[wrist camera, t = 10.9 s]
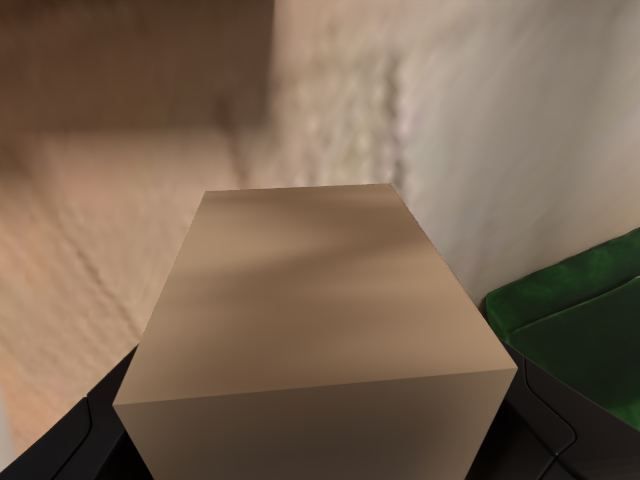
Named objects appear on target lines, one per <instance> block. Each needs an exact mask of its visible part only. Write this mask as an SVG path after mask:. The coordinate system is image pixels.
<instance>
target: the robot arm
mask: <svg viewBox="0 0 640 480" xmlns="http://www.w3.org/2000/svg"><path fill="white" fill-rule="evenodd" d="M496 337H497V338H498V339H499V341H500V342H501V344H502V345H503V347H504V348H505V350H506V351H507V352H508V354H509V355H510V357H511V358H512V360H513V361H514V363H515V364H516V365H517V367H518V370H517V372H516V374H515V376H514V378H513V380H512V382H511V384H510V386H509V388H508V390H507V392H506V394H505V396H504V398H503V400H502V403H501V405H500V407H499V409H498V411H497V413H496V415H495V417H494V419H493V421H492V423H491V425H490V427H489V429H488V431H487V434H486V436H485V438H484V440H483V442H482V444H481V446H480V448H479V450H478V452H477V454H476V456H475V458H474V460H473V462H472V465H471V467H470V469H469V471H468V473H467V475H466V477H465V479H464V480H640V430H638V429H636V428H635V427H633V426H632V425H630V424H628V423H627V422H625V421H623V420H622V419H620V418H619V417H617V416H615V415H614V414H612V413H610V412H609V411H607V410H606V409H604V408H602V407H601V406H599V405H598V404H596V403H594V402H593V401H591V400H590V399H588V398H586V397H585V396H583V395H582V394H580V393H579V392H577V391H575V390H574V389H572V388H571V387H569V386H568V385H566V384H565V383H563V382H562V381H560V380H559V379H557V378H556V377H554V376H553V375H551V374H550V373H548V372H547V371H546V370H544V369H543V368H541V367H540V366H538V365H537V364H536V363H534V362H533V361H531V360H530V359H529V358H525V357H524V355H523V354H521V353H520V352H519V351H517V350H516V349H514V348H513V347H512V346H510V345H509V344H507V343H506V342H505V341H503V340H502V339H500V338H499V337H498V336H496ZM138 345H139V344H138ZM138 345H137V346H136V347H135V348H134V349H133V350H132V351H131V352H130V353H129V354H128V355H127V356H125V357H124V358H123V359H122V360H121V361H120V362H119V363H118V364H117V365H116V366H115V367H114V368H113V369H112V370H111V371H110V372H109V373H108V374H107V375H106V376H105V377H104V378H103V379H102V380H101V381H100V382H99V383H98V384H97V385H96V386H95V387H94V388H93V389H92V390H91V391H90V392H88V393H87V397H83V398H82V399H81V400H80V401H79V402H78V403H77V404H76V405H75V406H74V407H73V408H72V409H71V410H70V411H69V412H68V413H67V414H66V415H65V416H63V417H62V418H61V419H60V420H59V421H58V422H57V423H56V424H55V425H54V426H53V427H52V428H51V429H50V430H49V431H47V432H46V433H45V434H44V435H43V436H42V437H41V438H40V439H39V440H37V441H36V442H35V443H34V444H33V445H32V446H31V447H29V448H28V449H27V450H26V451H25V452H24V453H23V454H21V455H20V456H19V457H18V458H17V459H16V460H15V461H13V462H12V463H11V464H10V465H9V466H8V467H6V468H5V469H4V470H3V471H2V472H1V473H0V480H154V478H153V476H152V475H151V473H150V471H149V469H148V468H147V466H146V464H145V462H144V461H143V459H142V457H141V455H140V453H139V452H138V450H137V448H136V446H135V445H134V443H133V441H132V439H131V438H130V436H129V434H128V432H127V430H126V429H125V427H124V425H123V423H122V422H121V420H120V418H119V416H118V415H117V413H116V411H115V409H114V407H113V406H112V405H113V402H114V400H115V398H116V396H117V393H118V391H119V389H120V386H121V384H122V382H123V379H124V377H125V375H126V373H127V370H128V368H129V366H130V363H131V361H132V359H133V357H134V354H135V352H136V350H137V347H138Z"/></svg>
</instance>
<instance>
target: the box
mask: <svg viewBox="0 0 640 480" xmlns="http://www.w3.org/2000/svg"><path fill="white" fill-rule="evenodd" d="M486 311H487V318H488V321H489V324H490V328H491V329H492V331H493V332H494V334H495V335H496V336H498V337H499V338H500V339H502V340H503V341H505V342H506V343H507V344H509V345H510V346H512V347H513V348H514V349H516V350H517V351H519V352H520V353H521V354H523V355H524V357H525V358H529V359H530V360H531V361H533V362H534V363H536V364H537V365H538V366H540V367H541V368H543V369H544V370H546V371H547V372H548V373H550V374H551V375H553V376H554V377H556V378H557V379H559V380H560V381H562V382H563V383H565V384H566V385H568V386H569V387H571V388H572V389H574V390H575V391H577V392H579V393H580V394H582V395H583V396H585V397H586V398H588V399H590V400H591V401H593V402H594V403H596V404H598V405H599V406H601V407H602V408H604V409H606V410H607V411H609V412H610V413H612V414H614V415H615V416H617V417H619V418H620V419H622V420H623V421H625V422H627V423H628V424H630V425H632V426H633V427H635V428H636V429H638V430H640V227H639V228H637V229H635V230H633V231H632V232H630V233H628V234H626V235H624V236H621V237H618V238H616V239H613V240H611V241H608V242H606V243H604V244H602V245H599V246H597V247H595V248H593V249H590V250H588V251H585V252H583V253H581V254H578V255H576V256H574V257H571V258H569V259H567V260H565V261H563V262H561V263H559V264H556V265H553V266H551V267H548V268H545V269H542V270H540V271H538V272H536V273H533V274H531V275H529V276H527V277H525V278H522V279H520V280H518V281H515V282H513V283H511V284H508V285H506V286H504V287H501V288H499V289H497V290H494V291H492V292H490V293H489V294H488V296H487V297H486Z"/></svg>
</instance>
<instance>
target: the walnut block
mask: <svg viewBox="0 0 640 480" xmlns="http://www.w3.org/2000/svg"><path fill="white" fill-rule="evenodd" d="M517 370H518V367H517V365H516V364H515V363H514V361H513V360H512V358H511V357H510V355H509V354H508V352H507V351H506V350H505V348H504V347H503V345H502V344H501V342H500V341H499V339H498V338H497V337H496V335H495V334H494V332H493V331H492V329H491V328H490V326H489V325H488V324H487V322H486V321H485V319H484V318H483V316H482V315H481V313H480V312H479V311H478V309H477V308H476V306H475V305H474V303H473V302H472V300H471V299H470V298H469V296H468V295H467V293H466V292H465V290H464V289H463V287H462V286H461V285H460V283H459V282H458V280H457V279H456V277H455V276H454V274H453V273H452V272H451V270H450V269H449V267H448V266H447V264H446V263H445V261H444V260H443V259H442V257H441V256H440V254H439V253H438V251H437V250H436V248H435V247H434V246H433V244H432V243H431V241H430V240H429V238H428V237H427V235H426V234H425V233H424V231H423V230H422V228H421V227H420V225H419V224H418V222H417V221H416V220H415V218H414V217H413V215H412V214H411V212H410V211H409V209H408V208H407V207H406V205H405V204H404V202H403V201H402V199H401V198H400V196H399V195H398V194H397V192H396V191H395V189H394V188H393V186H392V185H391V184H368V185H345V186H322V187H298V188H275V189H251V190H228V191H206V192H205V194H204V196H203V198H202V201H201V203H200V205H199V208H198V210H197V212H196V214H195V217H194V219H193V221H192V224H191V226H190V228H189V231H188V233H187V235H186V237H185V240H184V242H183V244H182V247H181V249H180V251H179V253H178V256H177V258H176V260H175V263H174V265H173V267H172V269H171V272H170V274H169V276H168V279H167V281H166V283H165V286H164V288H163V290H162V292H161V295H160V297H159V299H158V302H157V304H156V306H155V308H154V311H153V313H152V315H151V318H150V320H149V322H148V324H147V327H146V329H145V331H144V334H143V336H142V338H141V341H140V343H139V345H138V347H137V350H136V352H135V354H134V357H133V359H132V361H131V363H130V366H129V368H128V370H127V373H126V375H125V377H124V379H123V382H122V384H121V386H120V389H119V391H118V393H117V396H116V398H115V400H114V402H113V405H112V406H113V407H114V409H115V411H116V413H117V415H118V416H119V418H120V420H121V422H122V423H123V425H124V427H125V429H126V430H127V432H128V434H129V436H130V438H131V439H132V441H133V443H134V445H135V446H136V448H137V450H138V452H139V453H140V455H141V457H142V459H143V461H144V462H145V464H146V466H147V468H148V469H149V471H150V473H151V475H152V476H153V478H154V480H464V479H465V477H466V475H467V473H468V471H469V469H470V467H471V465H472V462H473V460H474V458H475V456H476V454H477V452H478V450H479V448H480V446H481V444H482V442H483V440H484V438H485V436H486V434H487V431H488V429H489V427H490V425H491V423H492V421H493V419H494V417H495V415H496V413H497V411H498V409H499V407H500V405H501V403H502V400H503V398H504V396H505V394H506V392H507V390H508V388H509V386H510V384H511V382H512V380H513V378H514V376H515V374H516V372H517Z"/></svg>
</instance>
